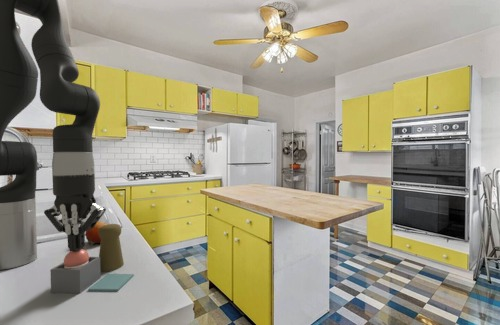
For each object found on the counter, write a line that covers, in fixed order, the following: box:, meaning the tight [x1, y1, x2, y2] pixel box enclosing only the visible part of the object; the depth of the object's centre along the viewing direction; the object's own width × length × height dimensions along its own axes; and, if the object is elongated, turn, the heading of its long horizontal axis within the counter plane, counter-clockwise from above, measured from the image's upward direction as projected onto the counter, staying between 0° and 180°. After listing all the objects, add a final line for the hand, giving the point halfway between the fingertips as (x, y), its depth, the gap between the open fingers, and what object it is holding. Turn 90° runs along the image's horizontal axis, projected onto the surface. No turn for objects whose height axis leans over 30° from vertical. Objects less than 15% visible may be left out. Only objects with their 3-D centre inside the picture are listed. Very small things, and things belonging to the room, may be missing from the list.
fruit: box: [85, 221, 109, 247], centre depth 79 cm, size 8×8×8 cm
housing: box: [50, 256, 102, 294], centre depth 53 cm, size 6×6×5 cm
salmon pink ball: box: [63, 248, 90, 268], centre depth 53 cm, size 5×5×5 cm
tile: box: [87, 273, 135, 292], centre depth 54 cm, size 6×6×1 cm
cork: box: [98, 223, 125, 273], centre depth 62 cm, size 6×6×11 cm
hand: (76, 249), depth 53 cm, fingers closed
